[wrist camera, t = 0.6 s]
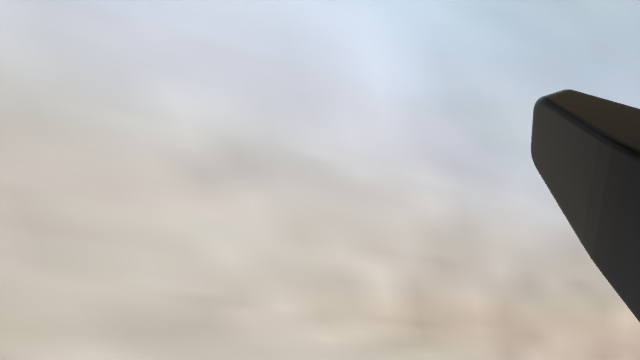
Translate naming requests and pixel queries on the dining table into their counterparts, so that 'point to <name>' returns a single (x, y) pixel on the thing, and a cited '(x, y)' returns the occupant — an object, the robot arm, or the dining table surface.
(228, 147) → the dining table surface
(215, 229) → the dining table surface
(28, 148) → the dining table surface
